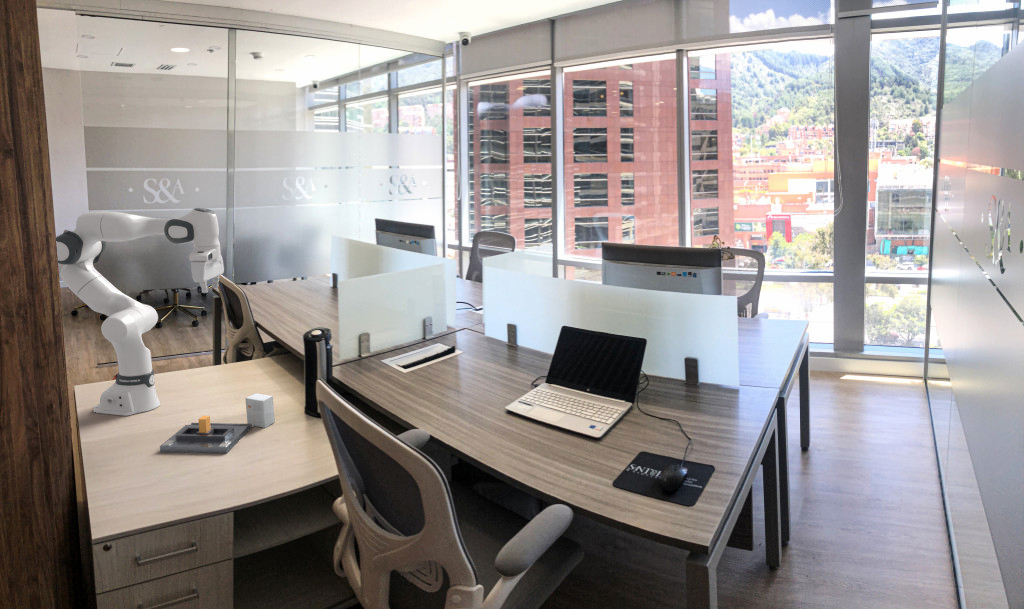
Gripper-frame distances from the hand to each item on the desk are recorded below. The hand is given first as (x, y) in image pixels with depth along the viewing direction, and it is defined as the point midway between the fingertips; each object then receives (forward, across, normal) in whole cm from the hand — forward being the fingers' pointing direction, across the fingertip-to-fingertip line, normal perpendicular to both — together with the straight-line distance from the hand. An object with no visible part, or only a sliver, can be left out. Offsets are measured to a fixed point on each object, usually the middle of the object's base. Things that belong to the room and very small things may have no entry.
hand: (210, 290), depth 242 cm
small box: (+47, +14, +20) cm, 53 cm away
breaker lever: (+45, +29, +6) cm, 54 cm away
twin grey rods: (+47, +18, +7) cm, 51 cm away
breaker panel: (+47, +29, +6) cm, 56 cm away
